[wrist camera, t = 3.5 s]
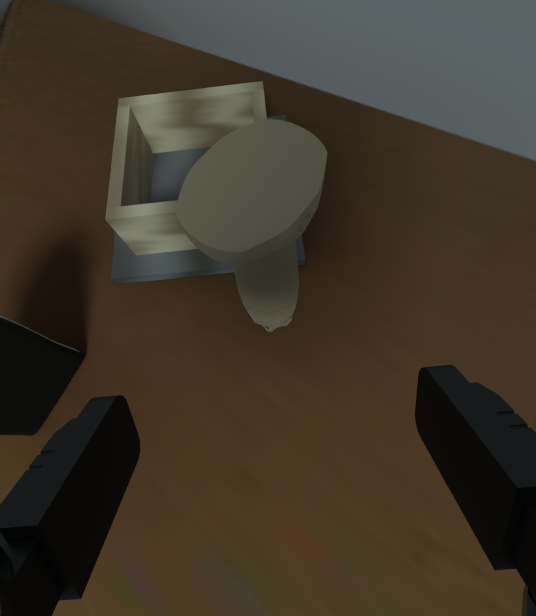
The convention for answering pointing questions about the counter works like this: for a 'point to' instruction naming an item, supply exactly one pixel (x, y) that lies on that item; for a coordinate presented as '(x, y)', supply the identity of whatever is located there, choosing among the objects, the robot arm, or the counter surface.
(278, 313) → the handle
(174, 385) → the counter surface
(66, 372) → the battery charger
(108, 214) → the cream grey square tray
